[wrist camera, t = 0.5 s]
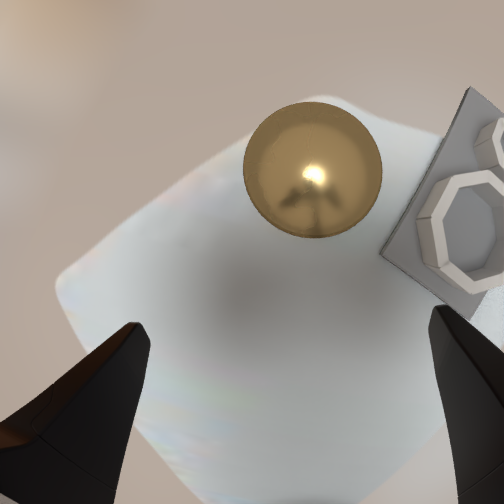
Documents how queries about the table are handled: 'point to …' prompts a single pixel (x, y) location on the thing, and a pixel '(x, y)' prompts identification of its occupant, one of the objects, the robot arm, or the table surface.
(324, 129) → the gold metal cylinder
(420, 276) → the manifold plate
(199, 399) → the table surface
